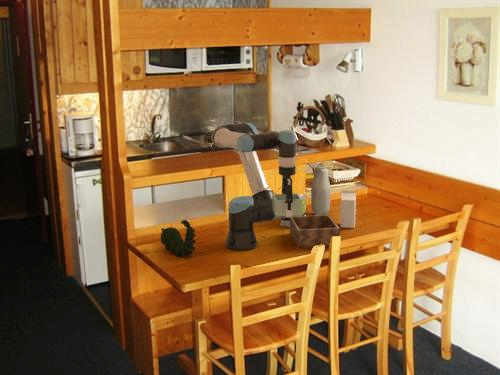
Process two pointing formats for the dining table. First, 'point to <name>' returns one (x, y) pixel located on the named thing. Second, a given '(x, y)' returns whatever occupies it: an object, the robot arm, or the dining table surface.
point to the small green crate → (280, 205)
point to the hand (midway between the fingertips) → (287, 212)
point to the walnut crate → (313, 230)
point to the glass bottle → (320, 191)
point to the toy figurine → (178, 240)
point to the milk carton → (348, 209)
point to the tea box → (286, 221)
